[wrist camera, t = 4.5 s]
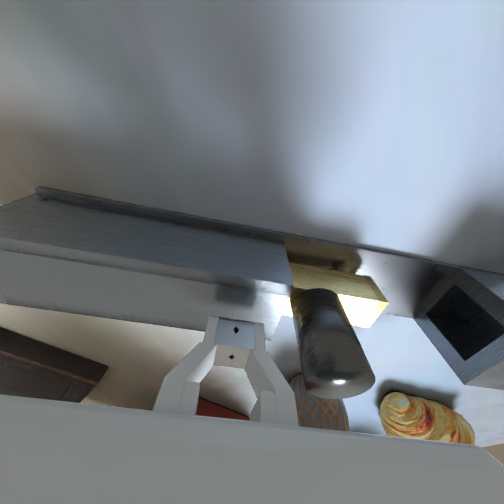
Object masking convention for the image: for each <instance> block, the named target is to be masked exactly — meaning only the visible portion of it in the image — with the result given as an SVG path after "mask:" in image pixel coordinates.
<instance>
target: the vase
mask: <svg viewBox="0 0 504 504" xmlns="http://www.w3.org/2000/svg"><path fill="white" fill-rule="evenodd" d="M289 386H290V387H291V389H292V390H293V392H294V394H295V402H296V409H297V417H298V424H299V426H302V427H311V428H320V429H330V430H339V431H349V422H348V416H347V412H346V409H345V406H344V403H343V400H342V399H325V398H320V397H316V396H314V395H312V394H310V393H309V392H308V391H307V390H306V388H305V383H304V378H303V373H302V374H299V375H297V376H295V377H294V378H293V379H292V380H291V382H290V383H289Z"/></svg>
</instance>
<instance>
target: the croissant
mask: <svg viewBox="0 0 504 504" xmlns="http://www.w3.org/2000/svg"><path fill="white" fill-rule="evenodd" d="M380 418H381V422H382V425H383V428H384V430H385V432H386V434H387V435H388V436H396V437H405V438H414V439H424V440H433V441H443V442H452V443H461V444H471V445H475V434H474V431H473V429H472V427H471V425H470V424H469V423H468V422H467V421H466V420H465V419H464V418H463V417H462V416H461V415H460V414H458V413H457V412H455V411H453V410H451V409H449V408H448V407H447V406H445V405H443V404H440V403H437V402H434V401H431V400H426V399H424V398H421V397H414V396H410V395H406V394H404V393H401V392H393V393H390V394H388V395H386V396H385V397H384V399H383V401H382V403H381V405H380Z"/></svg>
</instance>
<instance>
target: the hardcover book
mask: <svg viewBox="0 0 504 504" xmlns="http://www.w3.org/2000/svg"><path fill="white" fill-rule="evenodd" d="M107 368H108V366H106V365H103V364H100V363H97V362H95V361H92V360H89V359H86V358H84V357H81V356H78V355H75V354H72V353H70V352H67V351H64V350H61V349H59V348H56V347H53V346H50V345H48V344H45V343H42V342H39V341H37V340H34V339H31V338H28V337H25V336H23V335H20V334H17V333H14V332H12V331H9V330H6V329H3V328H1V327H0V395H9V396H19V397H28V398H38V399H47V400H56V401H66V402H75V403H80V402H81V401H82V400H83V399H84V398H85V397H86V396H87V395H88V394H89V392H90V391H91V390H92V389H93V388H94V387H95V386H96V385H97V384H98V383H99V381H100V380H101V378H102V377H103V375H104V373H105V372H106V370H107Z"/></svg>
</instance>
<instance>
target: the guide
mask: <svg viewBox="0 0 504 504" xmlns="http://www.w3.org/2000/svg"><path fill="white" fill-rule="evenodd" d="M35 189H36V192H37V193H36V194H33V195H30V196H27V197H25V198H22V199H19V200H16V201H13V202H11V203H8V204H5V205H2V206H0V303H2V304H10V305H17V306H24V307H31V308H38V309H46V310H53V311H60V312H67V313H75V314H82V315H89V316H96V317H103V318H111V319H118V320H125V321H132V322H140V323H147V324H154V325H161V326H168V327H176V328H183V329H190V330H197V331H206V327H207V323H208V319H209V316H210V315H213V316H219V317H225V318H230V319H236V320H237V319H238V320H246V321H253V322H258V323H264V330H265V340H269V341H271V339H272V336H273V334H274V331H275V329H276V327H277V324H278V322H279V320H280V317H281V315H282V312H283V310H284V308H285V305H286V303H287V300H288V298H289V296H290V293H291V291H292V289H293V286H294V285H293V281H292V276H291V271H290V267H289V262H290V263H296V264H301V265H307V266H313V267H318V268H324V269H330V270H335V271H341V272H347V273H352V274H358V275H366V276H371V278H372V279H373V281H374V282H375V283H376V285H377V286H378V288H379V289H380V291H381V292H382V293H383V295H384V296H385V298H386V299H387V300H388V302H389V303H388V305H387V306H386V307H385V308H384V310H383V311H382V312H381V313H383V314H389V315H396V316H402V317H408V318H413V319H414V320H415V321H416V323H417V324H418V325H419V327H420V328H421V329H422V330H423V332H424V333H425V334H426V336H427V337H428V338H429V340H430V341H431V342H432V344H433V345H434V346H435V347H436V349H437V350H438V351H439V353H440V354H441V355H442V357H443V358H444V359H445V361H446V362H447V363H448V364H449V366H450V367H451V368H452V370H453V371H454V372H455V374H456V375H457V376H458V378H459V379H460V380H461V381H462V383H463V384H464V385H470V386H478V387H486V388H493V389H501V390H504V275H503V274H498V273H493V272H488V271H482V270H477V269H472V268H467V267H461V266H456V265H451V264H445V263H440V262H435V261H430V260H424V259H419V258H414V257H409V256H403V255H398V254H393V253H387V252H382V251H377V250H372V249H366V248H361V247H356V246H351V245H345V244H340V243H335V242H329V241H324V240H319V239H314V238H308V237H303V236H298V235H292V234H287V233H282V232H277V231H271V230H266V229H261V228H256V227H250V226H245V225H240V224H234V223H229V222H224V221H219V220H213V219H208V218H203V217H198V216H192V215H187V214H182V213H176V212H171V211H166V210H161V209H155V208H150V207H145V206H140V205H134V204H129V203H124V202H118V201H113V200H108V199H103V198H97V197H92V196H87V195H81V194H76V193H71V192H66V191H60V190H55V189H50V188H45V187H36V188H35Z"/></svg>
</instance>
